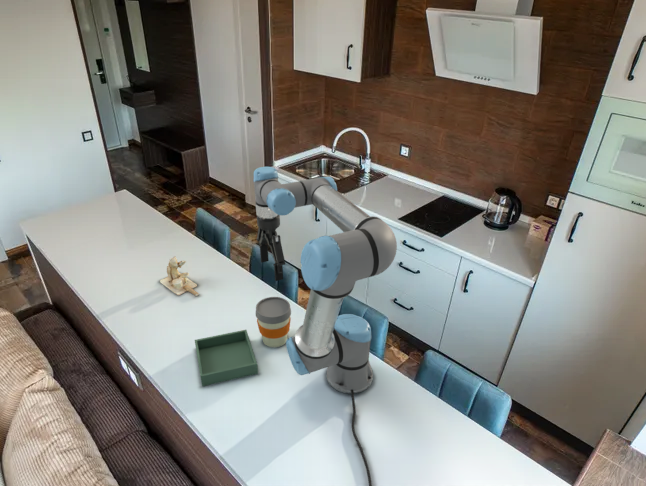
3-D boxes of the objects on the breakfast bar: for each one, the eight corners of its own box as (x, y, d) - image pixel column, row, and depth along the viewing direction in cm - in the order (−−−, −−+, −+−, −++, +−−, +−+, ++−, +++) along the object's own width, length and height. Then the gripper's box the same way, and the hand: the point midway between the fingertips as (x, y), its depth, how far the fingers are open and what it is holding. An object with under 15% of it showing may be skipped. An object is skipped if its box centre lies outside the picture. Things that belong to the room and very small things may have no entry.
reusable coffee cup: (276, 324, 174) (274, 292, 166) (299, 339, 166) (298, 306, 158) (250, 339, 167) (247, 306, 158) (273, 355, 159) (271, 322, 151)
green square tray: (258, 373, 152) (257, 363, 149) (202, 386, 147) (200, 376, 145) (247, 339, 167) (246, 329, 164) (196, 349, 162) (194, 339, 160)
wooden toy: (158, 281, 200) (152, 254, 192) (179, 272, 206) (174, 246, 198) (185, 302, 187) (179, 274, 179) (206, 292, 192) (202, 265, 185)
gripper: (294, 227, 139) (295, 285, 151) (265, 199, 158) (268, 252, 170) (271, 232, 136) (275, 290, 148) (244, 203, 156) (249, 256, 167)
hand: (271, 270), depth 159 cm, fingers open, 13 cm apart
